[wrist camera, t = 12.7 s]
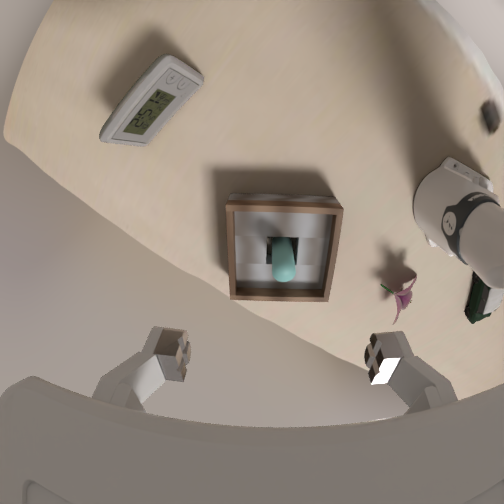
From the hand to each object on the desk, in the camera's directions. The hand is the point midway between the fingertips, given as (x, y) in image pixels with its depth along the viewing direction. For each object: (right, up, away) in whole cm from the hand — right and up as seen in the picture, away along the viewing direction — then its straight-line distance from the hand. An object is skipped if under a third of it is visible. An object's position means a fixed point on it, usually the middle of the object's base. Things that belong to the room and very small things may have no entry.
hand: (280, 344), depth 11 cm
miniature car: (+60, -5, +42) cm, 73 cm away
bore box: (+4, +6, +39) cm, 40 cm away
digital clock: (-16, +28, +28) cm, 43 cm away
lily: (+30, -4, +43) cm, 53 cm away
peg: (+4, +6, +39) cm, 40 cm away
